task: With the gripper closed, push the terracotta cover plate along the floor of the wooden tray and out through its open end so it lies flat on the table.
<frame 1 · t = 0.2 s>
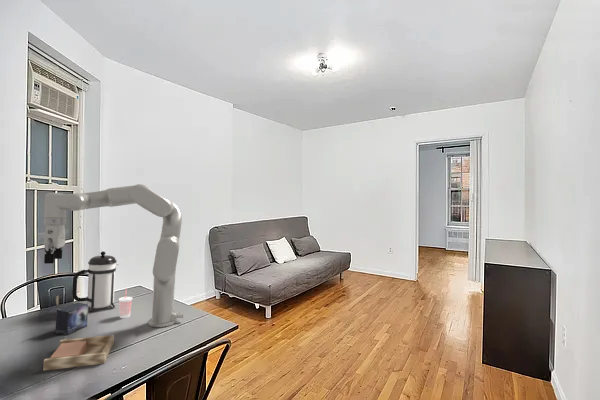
hand: (53, 260, 137), 31 cm above the table, tool pointing down, fingers open, 9 cm apart
small box: (71, 330, 140), on the table
cover plate: (68, 357, 116), point 1 cm above the table, touching wooden tray
wooden tray: (81, 357, 117), on the table
beverage cup: (124, 316, 158), on the table
coffee press: (97, 308, 167), on the table
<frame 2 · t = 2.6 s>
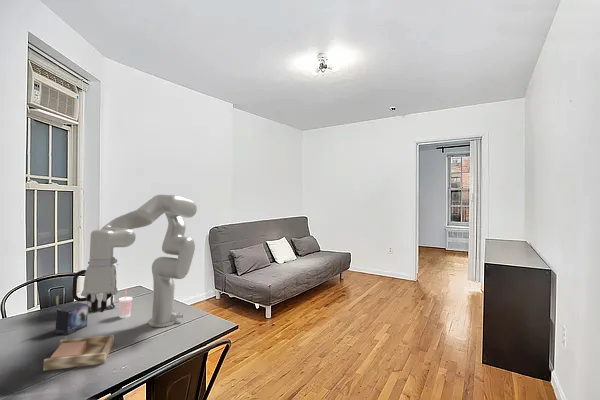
hand: (99, 310, 119), 17 cm above the table, tool pointing down, fingers closed
nothing on the table moved.
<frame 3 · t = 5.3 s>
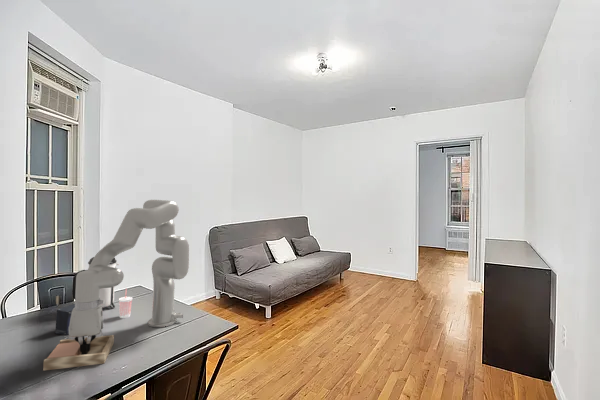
hand: (85, 353, 118), 2 cm above the table, tool pointing down, fingers closed
nothing on the table moved.
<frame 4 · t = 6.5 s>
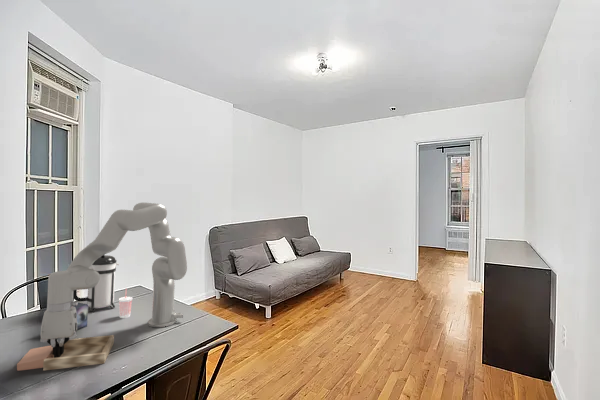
hand: (58, 356, 115), 2 cm above the table, tool pointing down, fingers closed
cover plate: (38, 361, 113), on the table, tilted 6°, touching gripper
everything else where it was.
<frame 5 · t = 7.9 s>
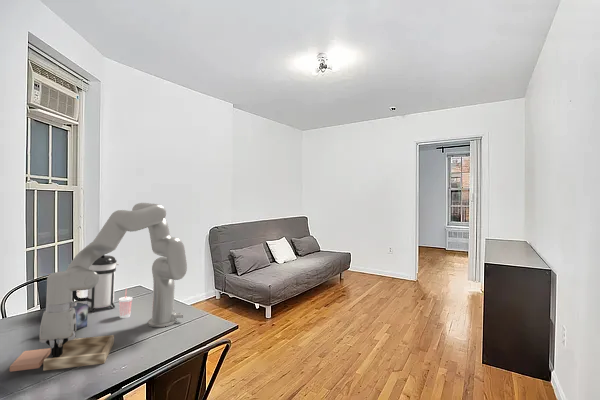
hand: (57, 356, 115), 1 cm above the table, tool pointing down, fingers closed
cover plate: (31, 365, 112), on the table
everything else where it was.
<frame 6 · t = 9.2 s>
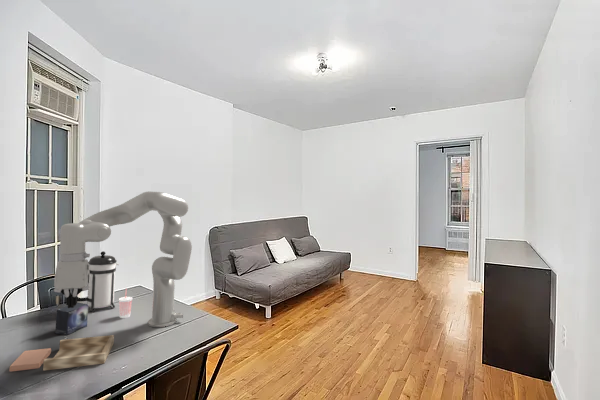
hand: (71, 306, 116), 19 cm above the table, tool pointing down, fingers closed
nothing on the table moved.
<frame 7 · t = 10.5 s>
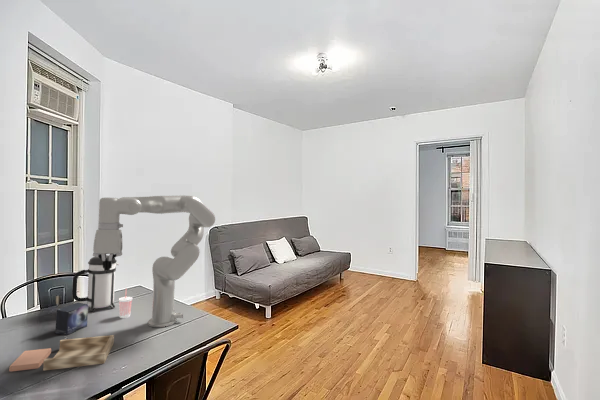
hand: (107, 269, 134), 29 cm above the table, tool pointing down, fingers closed
nothing on the table moved.
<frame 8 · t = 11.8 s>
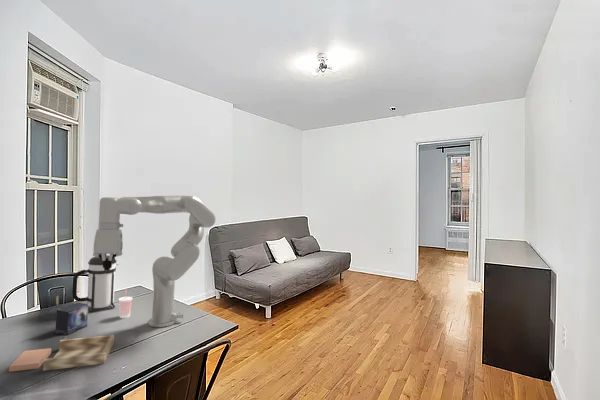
hand: (107, 269, 134), 29 cm above the table, tool pointing down, fingers closed
nothing on the table moved.
at the end: cover plate inside the target area (1.2 cm from its centre), on the table; cover plate tilted 0°; cover plate touching table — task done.
